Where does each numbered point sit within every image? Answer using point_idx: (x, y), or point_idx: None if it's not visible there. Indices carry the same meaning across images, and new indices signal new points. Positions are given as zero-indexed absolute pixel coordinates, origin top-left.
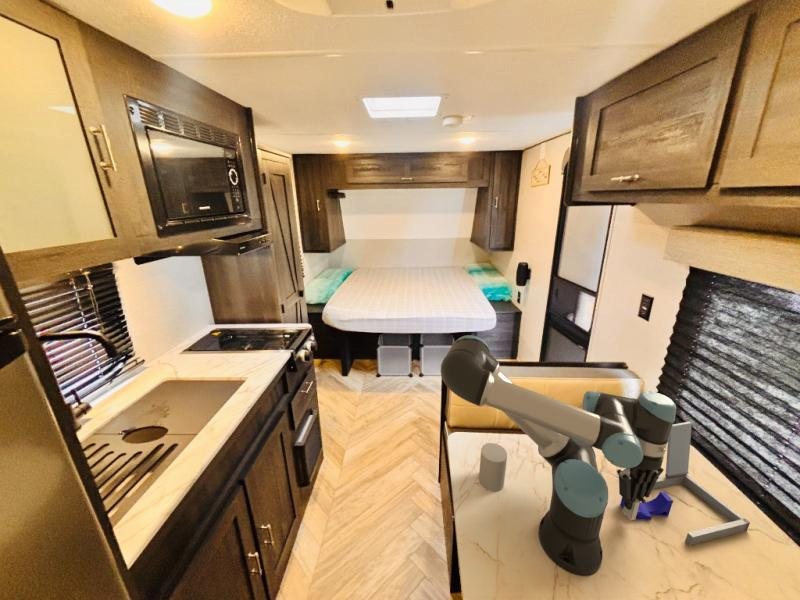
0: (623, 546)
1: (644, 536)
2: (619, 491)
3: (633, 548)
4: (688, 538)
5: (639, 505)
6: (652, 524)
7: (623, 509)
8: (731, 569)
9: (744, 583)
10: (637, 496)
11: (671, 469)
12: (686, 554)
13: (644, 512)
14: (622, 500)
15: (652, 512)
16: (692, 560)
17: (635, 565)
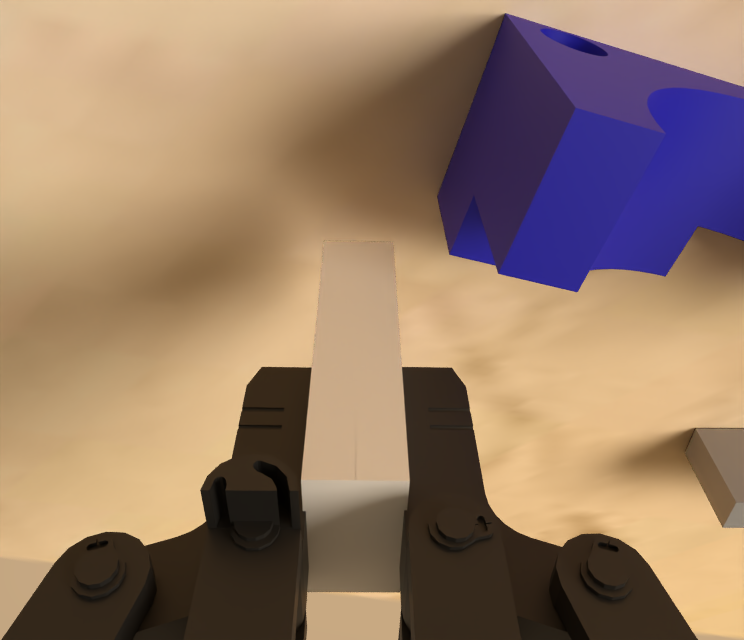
0: (141, 375)
1: (406, 350)
2: (14, 626)
3: (217, 398)
4: (710, 475)
5: (688, 149)
6: (605, 286)
7: (322, 267)
8: (733, 566)
9: (697, 606)
10: (407, 606)
11: None
12: (579, 483)
13: (633, 237)
14: (515, 67)
15: (737, 234)
16: (570, 509)
17: (135, 473)
